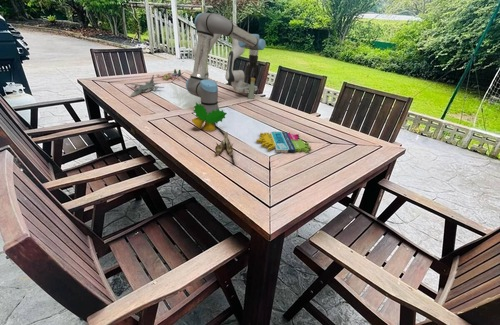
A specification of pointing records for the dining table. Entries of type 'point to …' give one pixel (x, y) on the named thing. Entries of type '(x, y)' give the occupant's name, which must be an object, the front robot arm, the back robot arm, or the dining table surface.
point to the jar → (251, 90)
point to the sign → (283, 142)
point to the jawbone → (224, 145)
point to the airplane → (145, 87)
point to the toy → (171, 75)
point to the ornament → (207, 117)
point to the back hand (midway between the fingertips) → (251, 91)
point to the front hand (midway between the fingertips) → (251, 83)
